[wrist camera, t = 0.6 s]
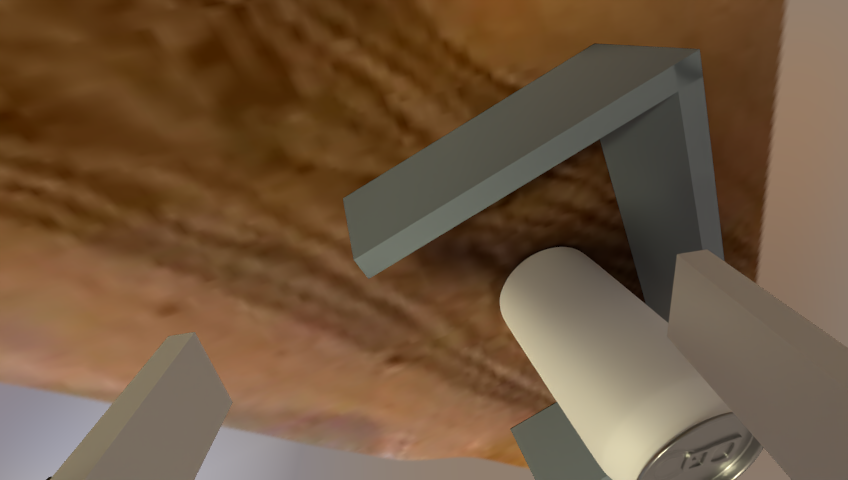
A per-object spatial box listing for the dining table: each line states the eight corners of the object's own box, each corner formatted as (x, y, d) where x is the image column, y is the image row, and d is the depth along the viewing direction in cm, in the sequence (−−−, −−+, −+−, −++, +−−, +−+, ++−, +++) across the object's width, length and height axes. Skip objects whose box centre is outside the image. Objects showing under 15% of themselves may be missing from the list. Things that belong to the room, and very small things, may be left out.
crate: (514, 435, 32) (554, 514, 27) (342, 198, 19) (353, 259, 14) (670, 345, 31) (741, 408, 26) (594, 43, 19) (700, 49, 14)
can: (497, 253, 23) (645, 433, 13) (597, 234, 24) (806, 386, 14) (495, 338, 26) (612, 538, 16) (584, 318, 27) (746, 492, 17)
